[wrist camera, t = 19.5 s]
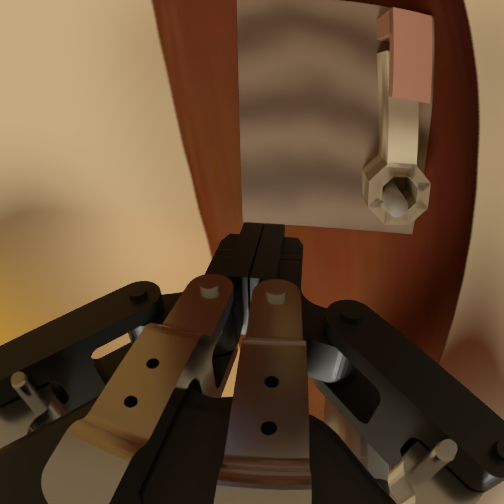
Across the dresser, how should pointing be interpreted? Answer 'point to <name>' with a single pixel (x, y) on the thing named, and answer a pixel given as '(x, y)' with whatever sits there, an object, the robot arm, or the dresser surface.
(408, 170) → the birch link
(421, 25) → the keeper
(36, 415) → the robot arm
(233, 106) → the dresser surface
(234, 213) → the dresser surface
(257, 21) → the hinge base
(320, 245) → the dresser surface
